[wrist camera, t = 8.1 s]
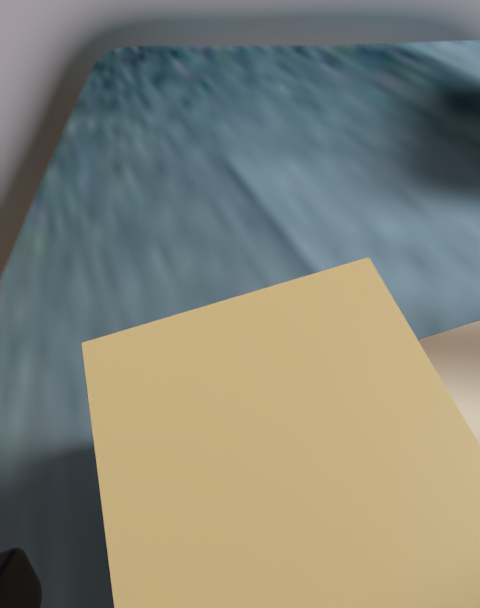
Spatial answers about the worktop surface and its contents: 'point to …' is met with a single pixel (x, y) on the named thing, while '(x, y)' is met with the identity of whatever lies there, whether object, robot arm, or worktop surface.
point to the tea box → (284, 455)
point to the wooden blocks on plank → (459, 368)
